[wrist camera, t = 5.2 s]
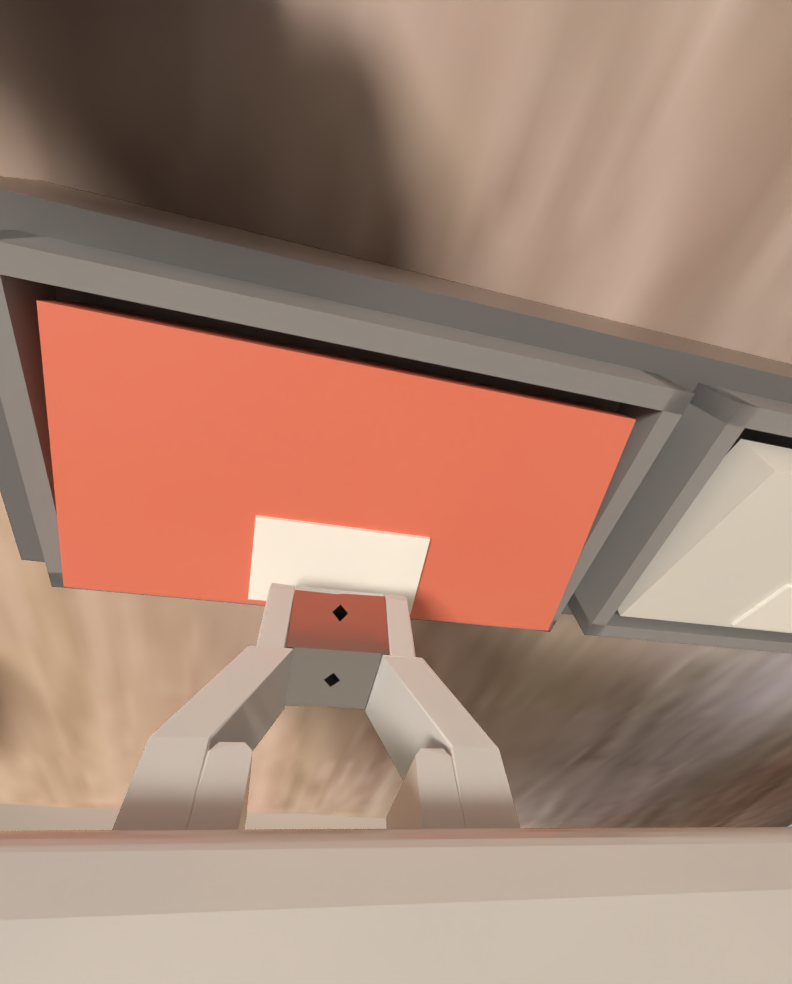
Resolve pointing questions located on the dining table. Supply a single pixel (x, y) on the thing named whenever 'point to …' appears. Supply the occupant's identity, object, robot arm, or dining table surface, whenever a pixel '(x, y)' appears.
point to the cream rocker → (727, 549)
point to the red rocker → (311, 472)
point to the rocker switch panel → (394, 341)
